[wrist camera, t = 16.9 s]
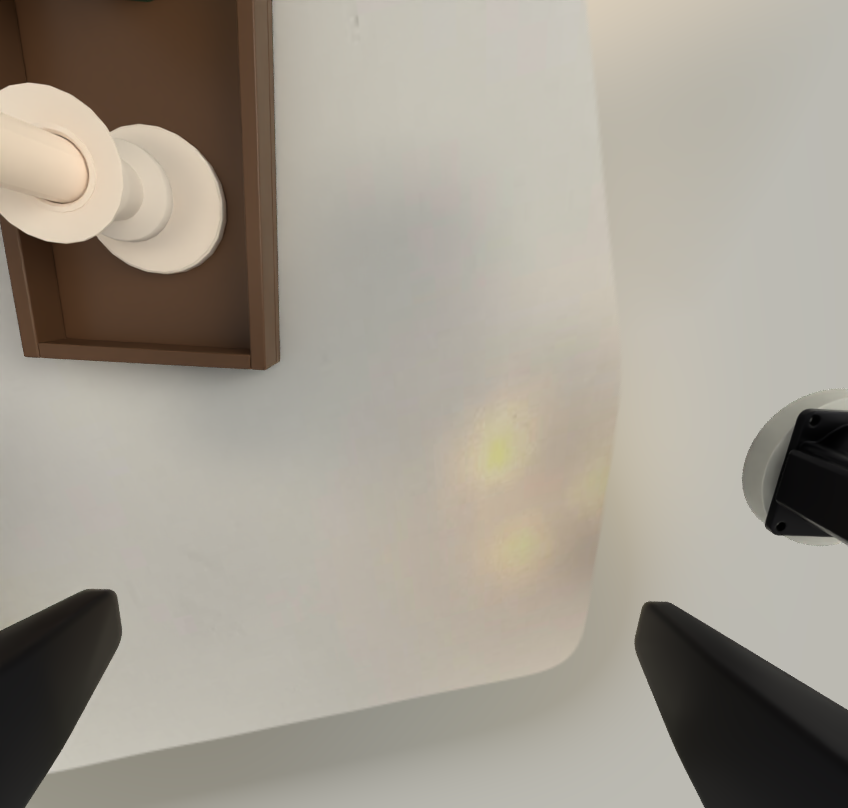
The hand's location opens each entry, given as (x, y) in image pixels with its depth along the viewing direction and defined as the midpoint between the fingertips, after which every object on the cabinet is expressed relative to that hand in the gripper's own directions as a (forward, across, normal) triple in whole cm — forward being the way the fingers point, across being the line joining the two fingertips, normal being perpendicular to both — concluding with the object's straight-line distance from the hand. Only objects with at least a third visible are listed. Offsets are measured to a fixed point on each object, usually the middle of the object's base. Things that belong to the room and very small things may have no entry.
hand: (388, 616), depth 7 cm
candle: (+13, +10, -8) cm, 18 cm away
